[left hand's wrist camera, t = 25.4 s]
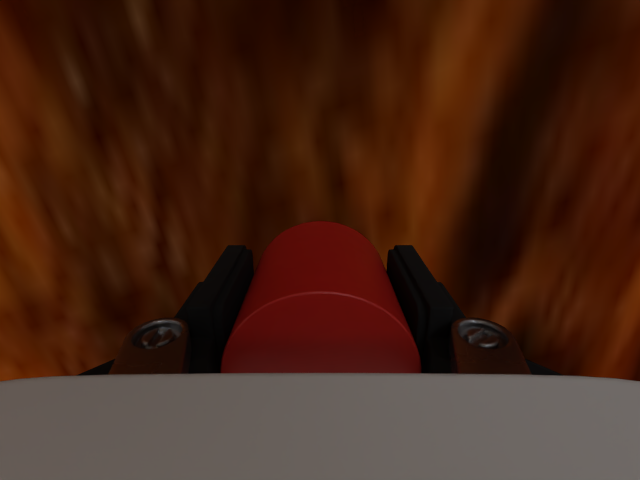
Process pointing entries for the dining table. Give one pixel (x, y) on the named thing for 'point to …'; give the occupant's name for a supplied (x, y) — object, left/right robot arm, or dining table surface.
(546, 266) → the dining table surface
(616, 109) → the dining table surface
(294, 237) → the can
